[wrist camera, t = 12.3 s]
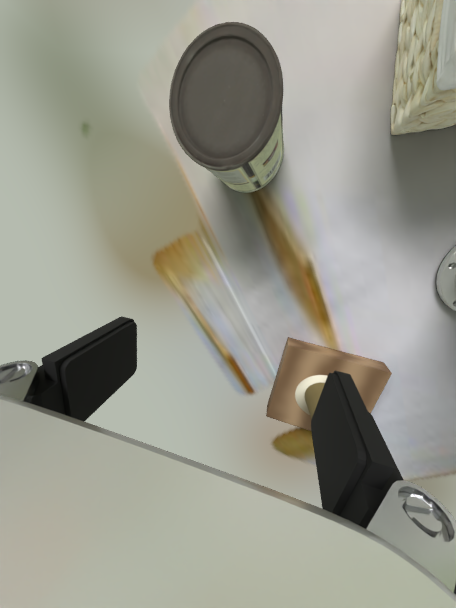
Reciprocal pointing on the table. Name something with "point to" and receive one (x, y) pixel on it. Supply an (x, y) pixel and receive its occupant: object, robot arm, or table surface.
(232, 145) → the coffee can
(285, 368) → the base
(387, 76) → the table surface
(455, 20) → the storage basket
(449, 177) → the table surface
